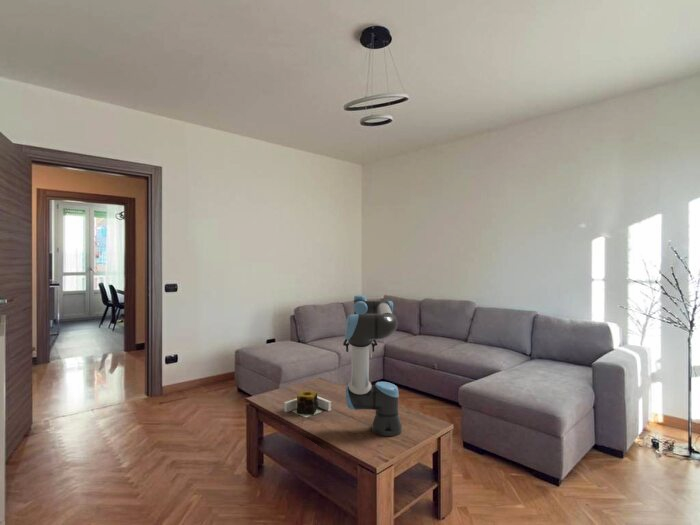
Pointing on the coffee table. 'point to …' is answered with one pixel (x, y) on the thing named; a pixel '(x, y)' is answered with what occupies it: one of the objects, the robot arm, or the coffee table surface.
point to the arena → (321, 403)
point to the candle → (307, 402)
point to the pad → (308, 414)
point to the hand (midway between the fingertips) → (360, 357)
